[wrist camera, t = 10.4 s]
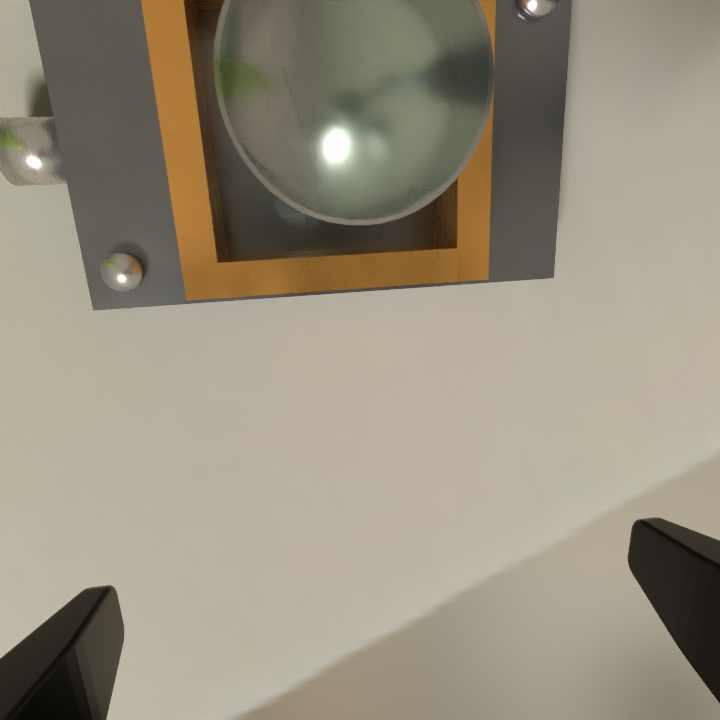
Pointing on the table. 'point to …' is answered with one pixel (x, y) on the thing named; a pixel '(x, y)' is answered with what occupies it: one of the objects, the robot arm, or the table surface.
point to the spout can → (354, 99)
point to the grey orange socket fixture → (244, 190)
